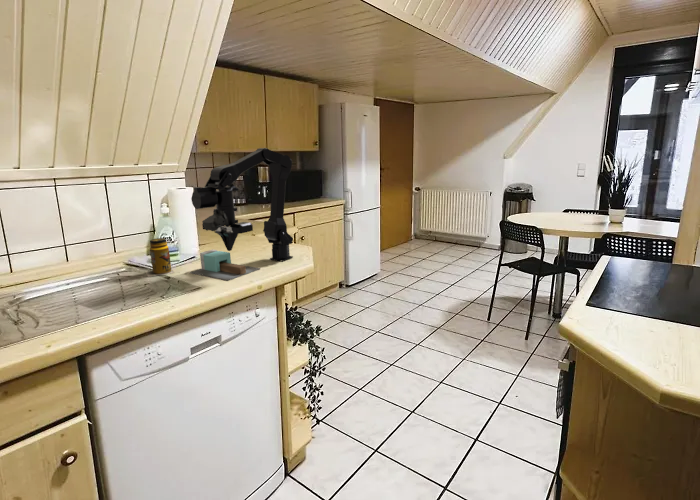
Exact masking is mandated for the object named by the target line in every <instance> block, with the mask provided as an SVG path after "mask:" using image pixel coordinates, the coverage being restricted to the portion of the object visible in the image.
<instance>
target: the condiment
mask: <svg viewBox="0 0 700 500" xmlns="http://www.w3.org/2000/svg"><path fill="white" fill-rule="evenodd" d="M149 243H150V244H149V246H150V247H149V254H150V260H151V269H152V270H146V271H144V272H145V274H146V277H148V278H149V277H155V276H162V275H169V274H173V273H175V271H174V270H173V269H172V263H171V262H172V261H171V256H170V250H169V249H170V248H169V246H168V242H167V239H166V238H164V237H160V238H159V237H158V238H157V237H156V238H152V239H151V240H149Z"/></svg>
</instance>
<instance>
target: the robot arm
mask: <svg viewBox="0 0 700 500" xmlns="http://www.w3.org/2000/svg"><path fill="white" fill-rule="evenodd" d="M261 163H264V164H265V165H267V166H268V167H269V168H268V169H269V173H270V175H271V178H272V183H271V184H272V185H271V197H270V198H271V200H270V213H269V214H270V215H269V218H267V219H268V220H264V221H263V225H264V226H263V230H262V232H263V233H264V237H266V239H267V241H268V243H269V244H271V247H272V248H271V255H272V256H271V257H269V260H272V261H279V262H284V261H286V260H290V259H293V258H294V256H293V255H290V254H291V253H290V245H292V244H293V241H294V238H293V236H291V235H290V233H288V227H287V223H286V221H285V218H284V212H285V202H286V201H285V200H286V199H285V198H286V187H287V180H288V178H289V176H290V174H291V171H292V166H293V160H292V159H291V157H290V156H289V155H288V154H282V153H279V152H275V151H273V150H271V149H269V148H268V147H259V148H257V149H256V150H255V151H253V152H251V153H249V154H246V155H245V156H243V157H241V158H239V159H238V160H236V161H234V162H231V163H228V164H224V165H220V166H219V165H218V166H217V167H214V168H212V169H211V170H210V175H209V178H208V179H207V181H206V183H205V185H204V186H203V187H201V186H196V187H194V188H193V192H192V194H191V198H190V199H191V203H192V206H193V207H194V208H195V209H196V210H200V209H201V210H202V209H208V208H214V209H213V212H212V213H213V214H212V215H210V216H208V217H206V218H205V219H204V220H202V224H201V225H202V230H204V231H206V232H207V231H211V232H214V233H215V234H217V235H218V236H220V238H221V240H222V241H223V242H222V243H223V244H224V247H225V249H226V250H227V252H231V251H232V250H233V247H234V245H235V243H236V240H237V238H238V235H239V234H245V233H248V232H249V233H250V232H253V231H254V230H253V229H254V227H253V224H252V222H250V221H249V222H247V221H241V222H239V219H236V212H238V208H237V207H235V202H234V201H235V200H234V192H238V191H239V188H238V187H237V186H235V184H234V183H235V182H236V181H237V180H238V179H239V177H240V176H241V175H242V174H243V173H245V172H247V171H248V170H250V169H251V168H254V167H255V166H257V165H259V164H261ZM215 207H216V208H215Z"/></svg>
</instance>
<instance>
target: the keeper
mask: <svg viewBox="0 0 700 500" xmlns="http://www.w3.org/2000/svg"><path fill="white" fill-rule="evenodd" d="M203 257H204V266H205V270H208V271H214V272H218V271H220V264H219V262H225V263H230V264H231V263H232V259H231V252H230V251H222V250H217V251H216V252H213V253H209V254H206V255H203Z"/></svg>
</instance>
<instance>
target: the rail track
mask: <svg viewBox="0 0 700 500" xmlns="http://www.w3.org/2000/svg"><path fill="white" fill-rule="evenodd" d="M216 251H218V250H217V249H209V250H205V251H202V252H199V257H200V265H201V266H200V267H201V268H199V269H195V270H193V271H190V272H189V274H192V275H196V276H197V275H198V276H201V277H206V278H213V279H217V280H220V281H221V280H222V281H226V282H228V281H231V280H235V279H236V278H239V277H242V276H245V275H247V274H250V273H254V272H256V271H259V270H261V268H259V267H254V266H249V265H243V264H237V263H232V262H231V264H230V263H225V262H219V264H220V271H218V272H214V271H208V270H205V266H204V257H203V255H206V254H209V253H213V252H216Z"/></svg>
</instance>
